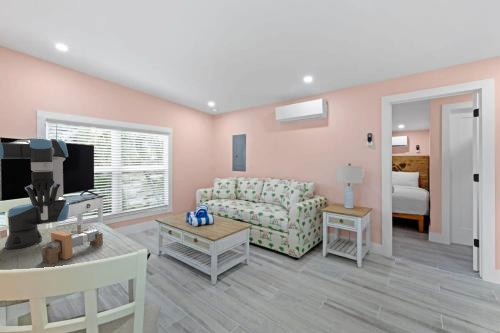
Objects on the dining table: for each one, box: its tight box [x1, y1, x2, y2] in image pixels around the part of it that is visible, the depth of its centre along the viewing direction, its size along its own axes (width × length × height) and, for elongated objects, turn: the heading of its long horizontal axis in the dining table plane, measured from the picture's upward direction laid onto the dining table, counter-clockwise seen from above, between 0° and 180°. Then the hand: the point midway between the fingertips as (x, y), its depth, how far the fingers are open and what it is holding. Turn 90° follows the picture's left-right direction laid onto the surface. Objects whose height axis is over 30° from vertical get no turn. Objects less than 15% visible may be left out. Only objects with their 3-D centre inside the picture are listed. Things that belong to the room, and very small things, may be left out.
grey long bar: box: [46, 228, 100, 253], centre depth 116 cm, size 5×22×5 cm, turn 158°
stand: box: [41, 231, 104, 265], centre depth 116 cm, size 7×25×7 cm, turn 158°
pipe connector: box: [70, 223, 89, 235], centre depth 133 cm, size 10×10×10 cm
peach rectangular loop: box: [50, 230, 74, 260], centre depth 111 cm, size 12×3×12 cm, turn 68°
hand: (44, 219), depth 104 cm, fingers closed
